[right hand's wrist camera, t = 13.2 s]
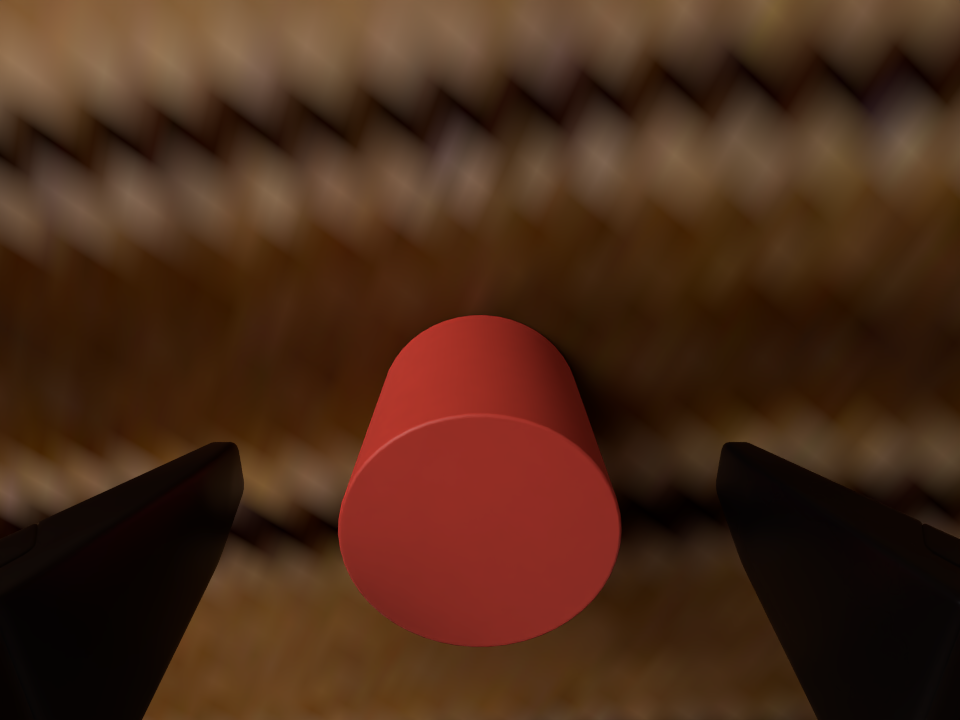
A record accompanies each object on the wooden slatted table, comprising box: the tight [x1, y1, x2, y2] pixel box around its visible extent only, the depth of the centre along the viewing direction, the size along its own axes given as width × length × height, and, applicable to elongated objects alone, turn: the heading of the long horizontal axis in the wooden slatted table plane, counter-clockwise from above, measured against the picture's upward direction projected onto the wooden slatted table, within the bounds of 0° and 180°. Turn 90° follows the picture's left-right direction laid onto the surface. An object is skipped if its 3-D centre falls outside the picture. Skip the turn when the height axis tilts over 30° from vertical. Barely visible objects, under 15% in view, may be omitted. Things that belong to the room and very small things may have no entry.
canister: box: [338, 315, 622, 647], centre depth 11 cm, size 4×4×4 cm
